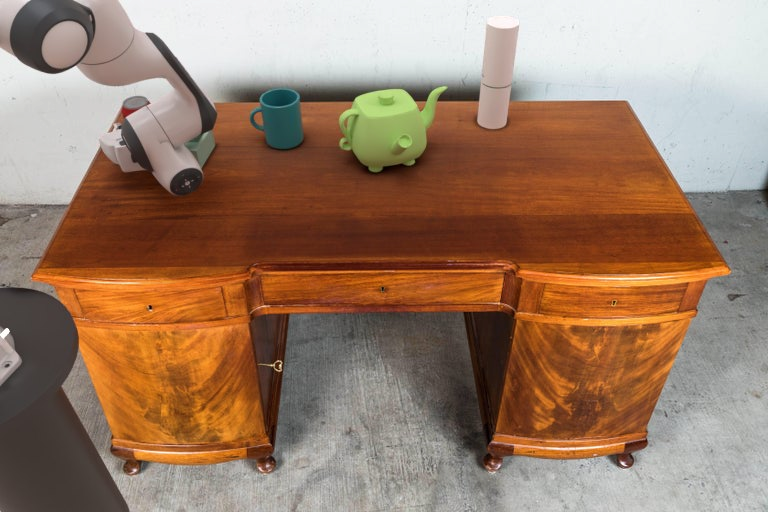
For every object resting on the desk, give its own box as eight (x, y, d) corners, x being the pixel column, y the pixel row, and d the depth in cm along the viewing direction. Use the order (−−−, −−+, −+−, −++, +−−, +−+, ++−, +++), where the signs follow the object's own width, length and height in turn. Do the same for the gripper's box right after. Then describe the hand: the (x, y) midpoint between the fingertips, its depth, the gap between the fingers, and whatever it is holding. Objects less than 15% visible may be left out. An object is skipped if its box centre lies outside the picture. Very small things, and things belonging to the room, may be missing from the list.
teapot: (358, 198, 139) (355, 133, 128) (331, 146, 154) (327, 84, 143) (467, 175, 144) (473, 112, 134) (430, 127, 160) (433, 66, 149)
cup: (255, 131, 159) (248, 88, 152) (305, 129, 159) (300, 87, 152) (251, 151, 152) (244, 108, 145) (303, 150, 153) (298, 106, 145)
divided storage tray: (200, 169, 147) (196, 150, 144) (119, 163, 149) (112, 144, 146) (215, 145, 155) (211, 126, 151) (137, 139, 157) (132, 121, 153)
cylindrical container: (501, 112, 164) (513, 14, 148) (510, 127, 159) (523, 27, 143) (473, 115, 164) (482, 16, 147) (481, 130, 158) (492, 29, 142)
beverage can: (128, 148, 152) (113, 101, 144) (154, 137, 155) (141, 91, 147) (142, 159, 148) (127, 112, 140) (169, 148, 152) (156, 101, 143)
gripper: (202, 119, 141) (179, 93, 150) (107, 149, 133) (88, 120, 141) (208, 144, 145) (185, 118, 154) (116, 175, 137) (97, 145, 145)
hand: (138, 119), depth 147 cm, fingers open, 8 cm apart
